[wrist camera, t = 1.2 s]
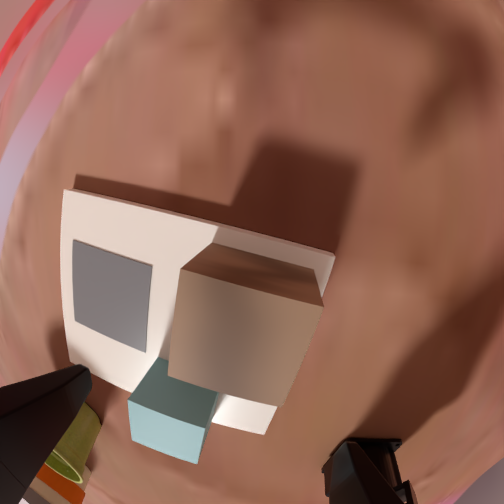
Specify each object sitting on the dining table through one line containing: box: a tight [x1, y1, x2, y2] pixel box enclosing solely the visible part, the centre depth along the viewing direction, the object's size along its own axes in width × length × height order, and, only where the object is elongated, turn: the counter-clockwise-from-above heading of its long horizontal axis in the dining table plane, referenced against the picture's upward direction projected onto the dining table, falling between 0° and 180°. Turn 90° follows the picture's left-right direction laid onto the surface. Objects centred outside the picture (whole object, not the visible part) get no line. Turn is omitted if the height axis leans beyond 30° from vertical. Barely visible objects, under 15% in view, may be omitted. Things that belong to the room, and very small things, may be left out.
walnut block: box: [168, 243, 324, 407], centre depth 14 cm, size 6×6×5 cm
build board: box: [60, 188, 335, 435], centre depth 18 cm, size 19×16×1 cm
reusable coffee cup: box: [22, 463, 91, 504], centre depth 24 cm, size 13×13×15 cm
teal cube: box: [128, 357, 219, 464], centre depth 17 cm, size 5×5×5 cm
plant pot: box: [45, 402, 101, 483], centre depth 20 cm, size 9×9×9 cm
